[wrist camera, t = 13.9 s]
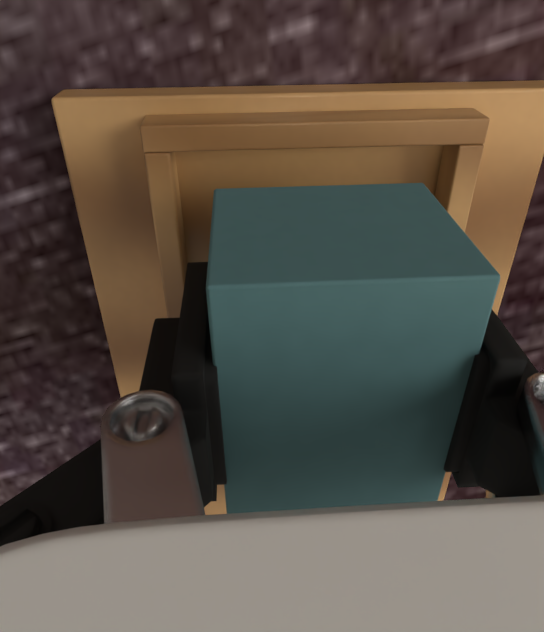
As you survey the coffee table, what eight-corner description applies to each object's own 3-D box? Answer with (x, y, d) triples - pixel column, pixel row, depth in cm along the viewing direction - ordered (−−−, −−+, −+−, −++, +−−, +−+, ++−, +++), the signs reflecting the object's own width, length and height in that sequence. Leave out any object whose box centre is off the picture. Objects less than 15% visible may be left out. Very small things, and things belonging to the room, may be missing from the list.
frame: (61, 88, 13) (-24, 152, 8) (544, 79, 13) (685, 134, 9) (152, 499, 22) (132, 626, 18) (435, 484, 22) (481, 604, 18)
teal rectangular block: (213, 187, 11) (205, 286, 8) (423, 181, 11) (503, 275, 8) (228, 396, 14) (227, 526, 11) (389, 388, 15) (434, 514, 11)
